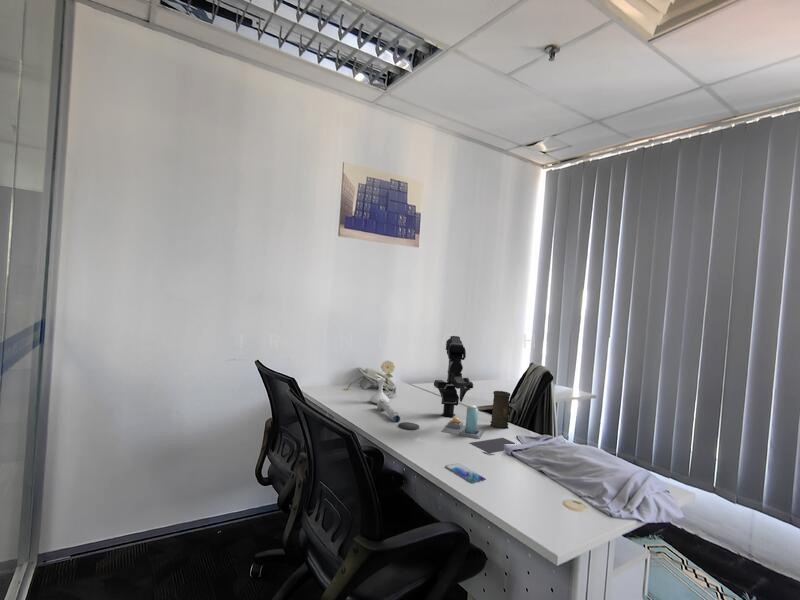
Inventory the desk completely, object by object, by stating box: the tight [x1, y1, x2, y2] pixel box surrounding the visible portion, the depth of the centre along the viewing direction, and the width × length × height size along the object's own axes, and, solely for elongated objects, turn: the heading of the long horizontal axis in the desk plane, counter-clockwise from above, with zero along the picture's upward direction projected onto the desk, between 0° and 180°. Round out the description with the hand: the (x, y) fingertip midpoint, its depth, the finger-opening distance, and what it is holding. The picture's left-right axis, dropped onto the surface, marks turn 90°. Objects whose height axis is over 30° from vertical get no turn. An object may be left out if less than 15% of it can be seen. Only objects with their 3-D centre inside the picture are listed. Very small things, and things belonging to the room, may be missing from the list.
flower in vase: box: [369, 359, 396, 404], centre depth 241 cm, size 13×11×25 cm
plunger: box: [452, 416, 460, 424], centre depth 204 cm, size 3×3×2 cm
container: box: [489, 390, 511, 430], centre depth 210 cm, size 9×9×18 cm
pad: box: [398, 421, 420, 431], centre depth 200 cm, size 10×10×1 cm
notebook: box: [468, 437, 516, 456], centre depth 181 cm, size 13×2×21 cm
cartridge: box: [465, 404, 479, 435], centre depth 194 cm, size 5×5×13 cm
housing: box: [440, 419, 486, 440], centre depth 198 cm, size 16×18×3 cm
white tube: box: [376, 399, 401, 423], centre depth 217 cm, size 5×7×25 cm
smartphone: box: [444, 463, 487, 484], centre depth 151 cm, size 7×1×15 cm
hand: (452, 401), depth 203 cm, fingers open, 9 cm apart
